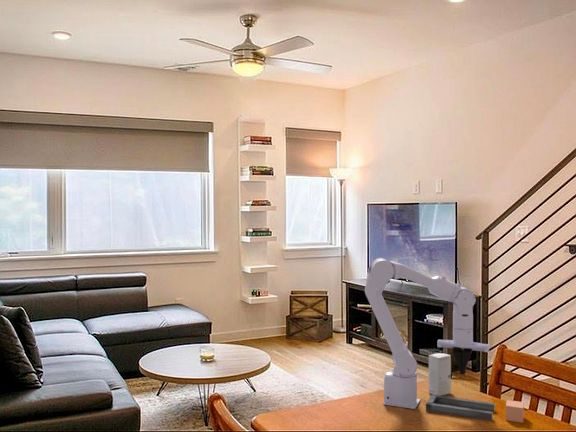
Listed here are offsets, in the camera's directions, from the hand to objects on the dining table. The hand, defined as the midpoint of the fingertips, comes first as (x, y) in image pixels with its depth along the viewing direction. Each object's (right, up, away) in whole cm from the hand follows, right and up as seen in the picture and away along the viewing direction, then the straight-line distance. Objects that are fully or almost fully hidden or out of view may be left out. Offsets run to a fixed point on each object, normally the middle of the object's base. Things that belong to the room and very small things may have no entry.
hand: (462, 373), depth 162 cm
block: (+11, -10, -11) cm, 18 cm away
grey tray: (-2, -10, -4) cm, 11 cm away
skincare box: (-4, -10, +11) cm, 15 cm away
